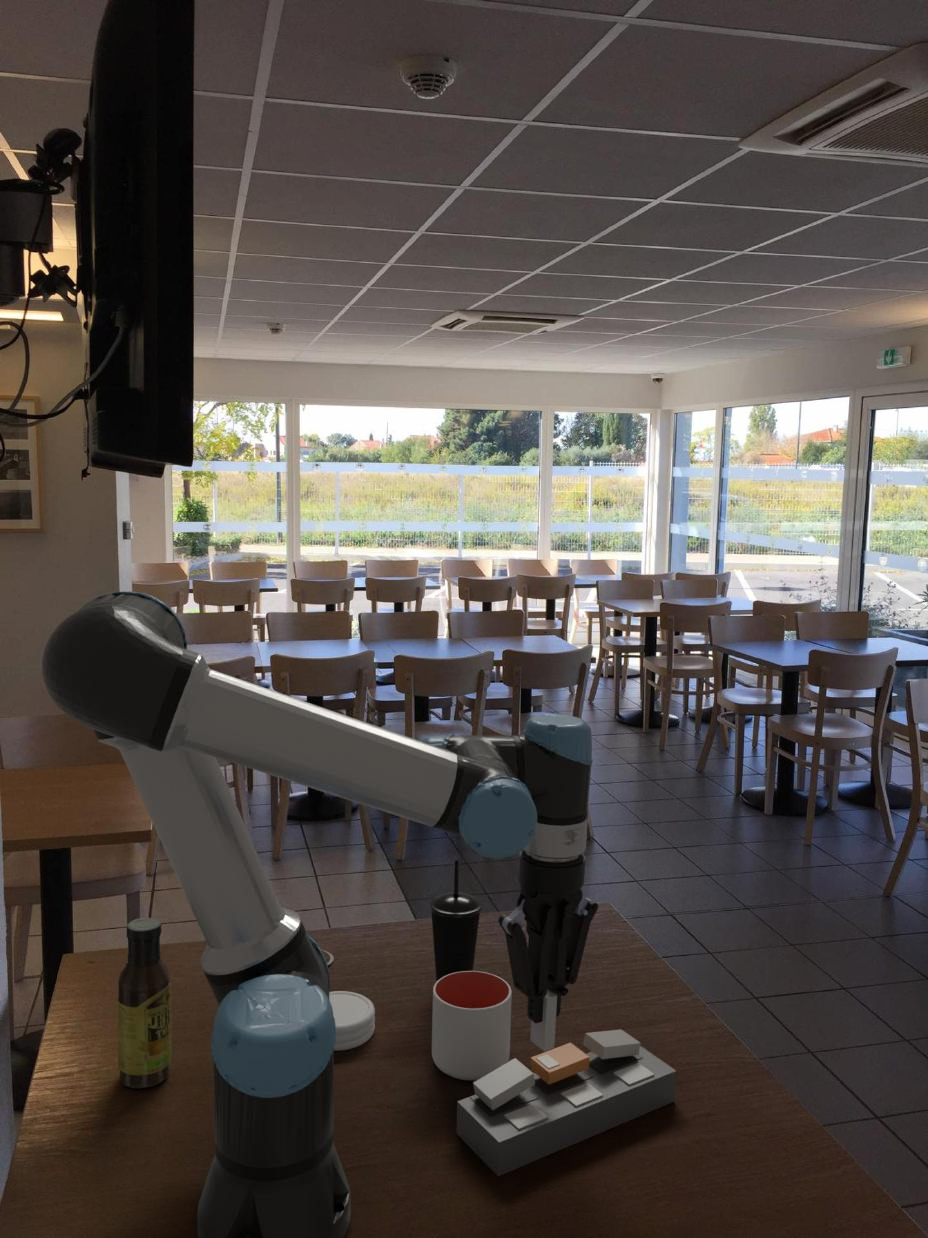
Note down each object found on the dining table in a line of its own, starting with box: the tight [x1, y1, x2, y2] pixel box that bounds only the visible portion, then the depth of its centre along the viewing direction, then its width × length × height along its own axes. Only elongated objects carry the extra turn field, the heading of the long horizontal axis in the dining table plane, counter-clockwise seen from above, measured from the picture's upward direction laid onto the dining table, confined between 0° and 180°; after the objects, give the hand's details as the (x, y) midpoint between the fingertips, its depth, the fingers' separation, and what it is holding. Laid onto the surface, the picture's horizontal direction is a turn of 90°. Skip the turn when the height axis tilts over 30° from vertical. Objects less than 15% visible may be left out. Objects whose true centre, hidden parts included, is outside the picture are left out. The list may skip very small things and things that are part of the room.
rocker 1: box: [472, 1058, 535, 1110], centre depth 117 cm, size 6×4×2 cm, turn 122°
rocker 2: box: [529, 1042, 589, 1084], centre depth 121 cm, size 6×4×2 cm, turn 123°
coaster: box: [329, 990, 376, 1052], centre depth 138 cm, size 10×10×4 cm
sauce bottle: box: [117, 917, 172, 1089], centre depth 125 cm, size 6×6×20 cm
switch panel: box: [456, 1045, 677, 1177], centre depth 120 cm, size 26×8×4 cm, turn 123°
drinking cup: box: [428, 859, 483, 983], centre depth 147 cm, size 8×8×20 cm
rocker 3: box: [582, 1029, 642, 1059], centre depth 126 cm, size 6×4×2 cm, turn 123°
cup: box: [431, 970, 513, 1081], centre depth 131 cm, size 10×10×10 cm
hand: (542, 1044), depth 120 cm, fingers closed
